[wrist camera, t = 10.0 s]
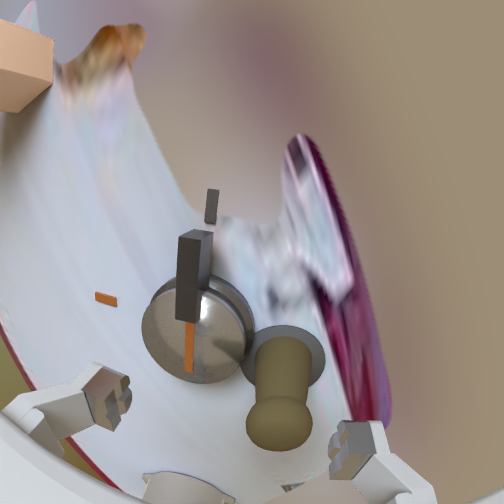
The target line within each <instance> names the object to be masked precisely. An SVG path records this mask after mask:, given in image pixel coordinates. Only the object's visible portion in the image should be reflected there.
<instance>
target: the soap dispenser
mask: <svg viewBox="0 0 504 504" xmlns="http://www.w3.org/2000/svg"><path fill="white" fill-rule="evenodd" d="M53 52H54V40H52V39H50V38H48V37H45V36H43V35H41V34H38V33H36V32H34V31H31V30H29V29H26V28H24V27H21V26H19V25H16V24H13V23H11V22H8V21H5V20H2V19H0V111H4V112H12V113H19V112H20V111H21V110H22V109H23V108H24V107H26V106H27V105H28V104H29V103H30V102H31V101H32V100H33V99H35V98H36V97H37V96H38V95H39V94H40V93H42V92H43V91H44V90H45V89H47V88H48V87H49V86H50V85H52V84H53Z"/></svg>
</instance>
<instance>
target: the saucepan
mask: <svg viewBox="0 0 504 504" xmlns="http://www.w3.org/2000/svg"><path fill="white" fill-rule="evenodd" d="M213 233H214V232H209V231H203V230H196V229H193V230H191V231H189V232H187V233H185V234H183V235H181V236H179V240H178V255H177V273H176V285H175V286H173V287H171V288H168V289H167V290H165V291H164V292H163V293H162V294H161V295H159V296H158V297H157V298H156V299H155V300H154V301H153V302H152V303H151V304H150V305H149V306H148V307H147V309H146V311H145V313H144V315H143V318H142V336H143V340H144V343H145V346H146V348H147V350H148V352H149V353H150V355H151V356H152V358H153V359H154V360H155V361H156V362H157V363H158V364H159V365H160V366H161V367H162V368H163V369H164V370H165V371H167V372H168V373H170V374H171V375H173V376H175V377H177V378H179V379H182V380H185V381H188V382H192V383H200V384H208V383H214V382H218V381H221V380H223V379H225V378H227V377H229V376H230V375H231V374H232V373H234V371H235V370H236V369H237V368H238V366H239V365H240V362H241V360H242V357H243V353H244V350H245V346H246V342H247V329H246V325H245V322H244V319H243V317H242V315H241V313H240V311H239V310H238V308H237V307H236V306H235V305H234V304H233V302H232V301H231V300H229V299H228V298H227V297H226V296H225V295H223V294H222V293H220V292H219V291H217V290H215V289H213V288H210V287H208V286H209V274H210V263H211V253H212V243H213Z"/></svg>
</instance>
